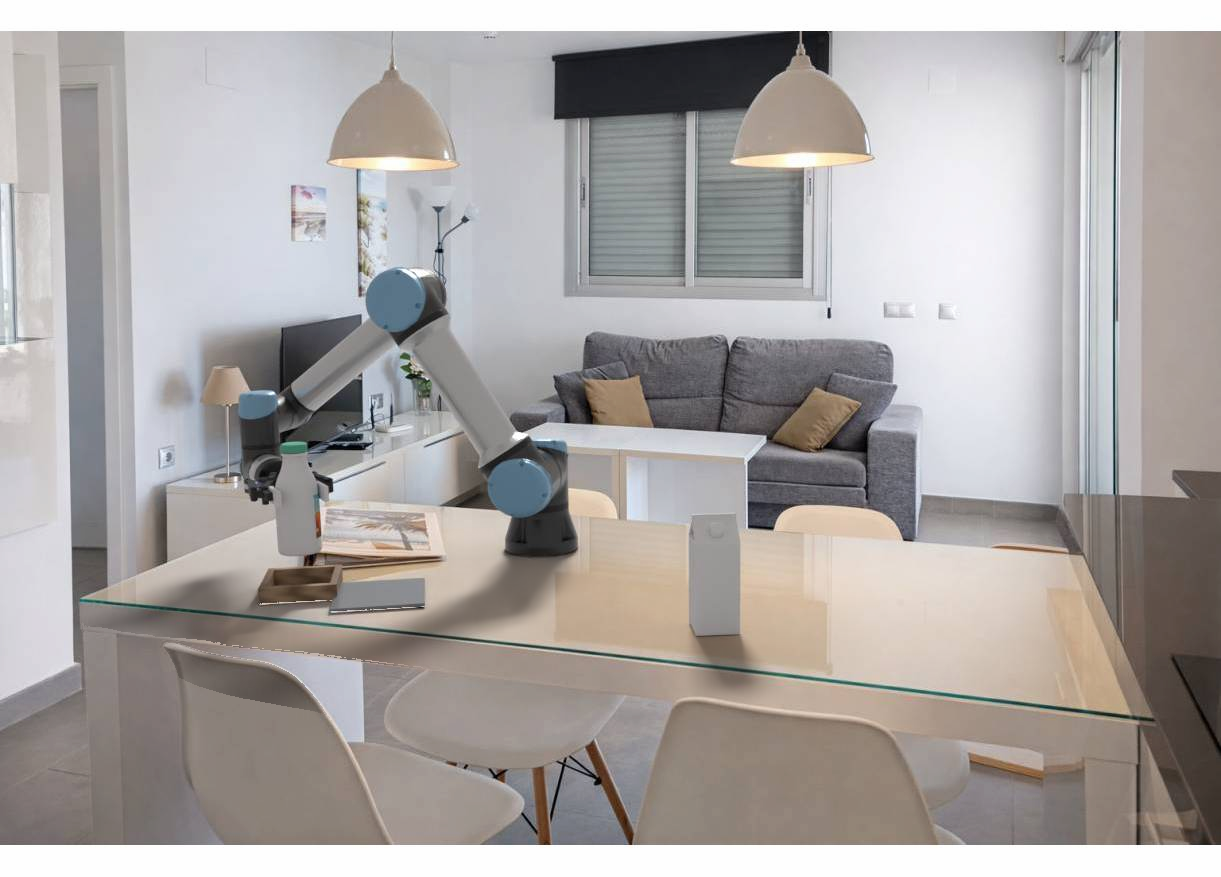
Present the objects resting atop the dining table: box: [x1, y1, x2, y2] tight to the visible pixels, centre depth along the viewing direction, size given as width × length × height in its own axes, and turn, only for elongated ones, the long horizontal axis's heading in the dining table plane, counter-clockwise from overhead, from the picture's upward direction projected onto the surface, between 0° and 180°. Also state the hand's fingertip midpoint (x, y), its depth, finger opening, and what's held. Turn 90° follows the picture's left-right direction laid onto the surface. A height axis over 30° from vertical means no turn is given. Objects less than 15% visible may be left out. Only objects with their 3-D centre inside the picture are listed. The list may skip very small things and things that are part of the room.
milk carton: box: [688, 512, 741, 637], centre depth 177 cm, size 7×7×19 cm
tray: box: [257, 563, 344, 605], centre depth 202 cm, size 13×13×3 cm
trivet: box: [329, 577, 426, 612], centre depth 198 cm, size 16×16×1 cm
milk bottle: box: [274, 441, 323, 557], centre depth 199 cm, size 8×8×20 cm
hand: (303, 497), depth 195 cm, fingers closed on milk bottle, 7 cm apart
